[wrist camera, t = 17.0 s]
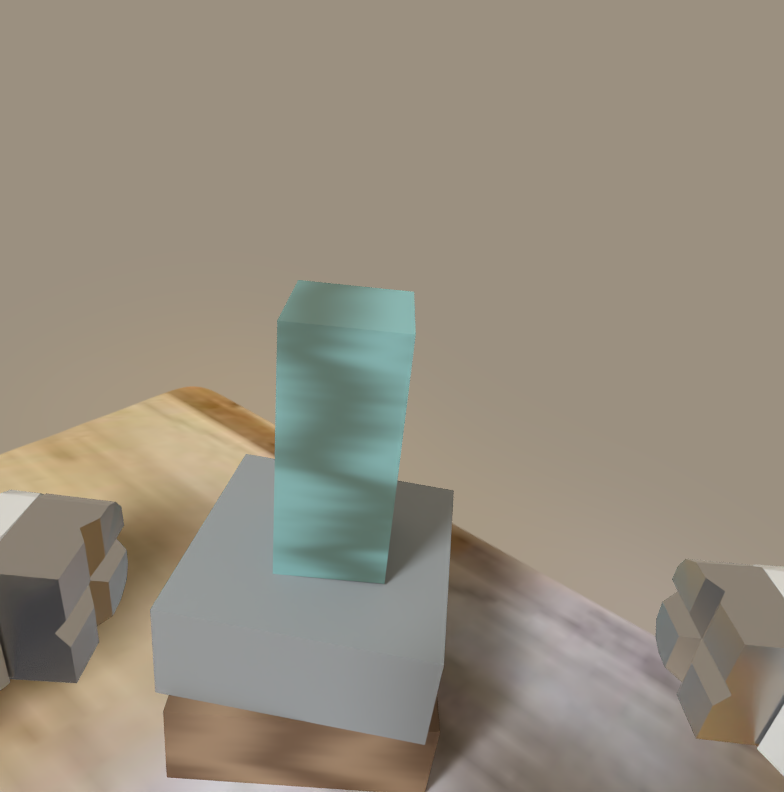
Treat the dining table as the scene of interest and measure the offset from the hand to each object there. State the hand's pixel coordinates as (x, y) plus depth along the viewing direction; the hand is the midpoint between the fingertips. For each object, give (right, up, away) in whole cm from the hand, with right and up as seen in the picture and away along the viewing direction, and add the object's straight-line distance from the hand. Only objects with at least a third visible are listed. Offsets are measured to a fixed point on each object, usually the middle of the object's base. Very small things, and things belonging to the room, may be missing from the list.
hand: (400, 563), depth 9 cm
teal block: (-3, -5, +21) cm, 22 cm away
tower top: (-4, -9, +24) cm, 26 cm away
